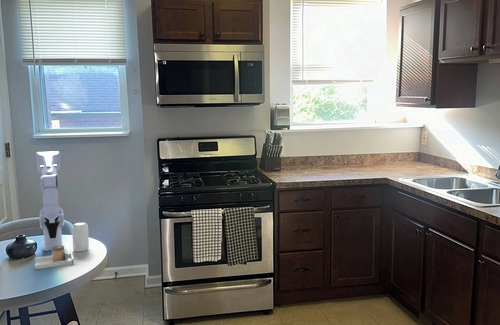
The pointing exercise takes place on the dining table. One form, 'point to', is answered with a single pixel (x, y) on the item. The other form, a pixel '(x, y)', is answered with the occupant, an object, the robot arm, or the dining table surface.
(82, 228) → the can
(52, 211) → the robot arm
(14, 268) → the dining table surface
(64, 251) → the pusher
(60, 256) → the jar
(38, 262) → the pusher lane
